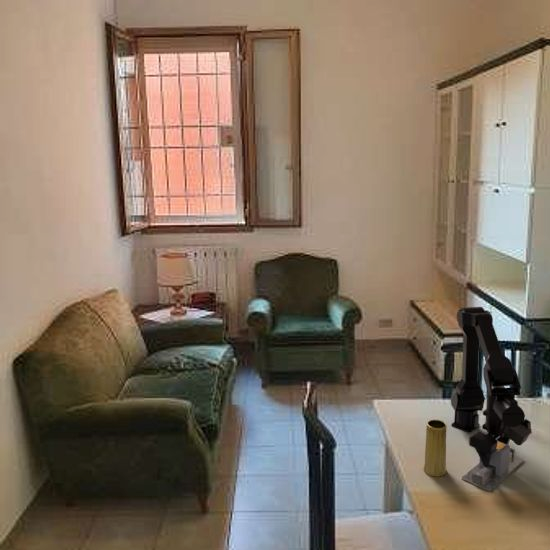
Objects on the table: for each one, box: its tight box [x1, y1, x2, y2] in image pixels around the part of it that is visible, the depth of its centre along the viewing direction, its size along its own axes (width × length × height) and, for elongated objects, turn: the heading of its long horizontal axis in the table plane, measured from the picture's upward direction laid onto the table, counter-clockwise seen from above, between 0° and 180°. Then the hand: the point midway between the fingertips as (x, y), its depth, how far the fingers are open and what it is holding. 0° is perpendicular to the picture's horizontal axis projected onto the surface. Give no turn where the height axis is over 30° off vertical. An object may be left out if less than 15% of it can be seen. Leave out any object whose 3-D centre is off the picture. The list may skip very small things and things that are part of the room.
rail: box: [461, 447, 525, 493], centre depth 156 cm, size 8×20×3 cm, turn 133°
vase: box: [423, 419, 447, 477], centre depth 155 cm, size 6×6×14 cm
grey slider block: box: [478, 441, 511, 476], centre depth 155 cm, size 6×5×7 cm
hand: (494, 460), depth 155 cm, fingers open, 9 cm apart
